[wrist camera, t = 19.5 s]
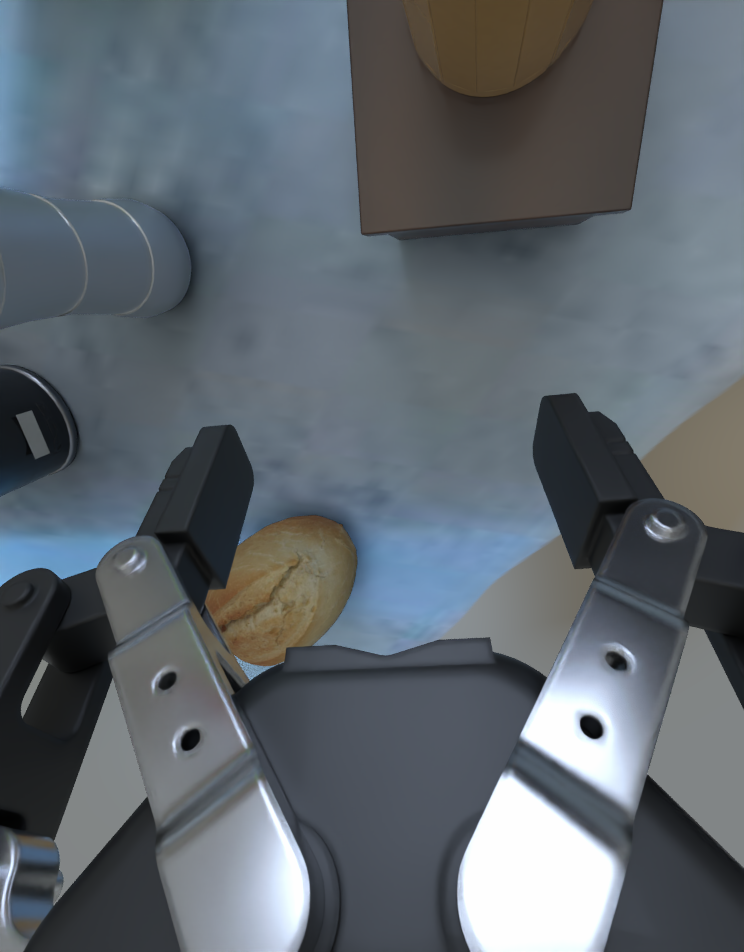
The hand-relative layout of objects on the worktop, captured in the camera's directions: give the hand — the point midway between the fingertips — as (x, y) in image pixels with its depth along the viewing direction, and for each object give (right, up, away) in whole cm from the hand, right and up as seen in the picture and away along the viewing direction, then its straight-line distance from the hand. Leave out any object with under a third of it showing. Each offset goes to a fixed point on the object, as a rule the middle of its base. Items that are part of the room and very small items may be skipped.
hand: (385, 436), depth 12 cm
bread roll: (-7, -9, +26) cm, 28 cm away
